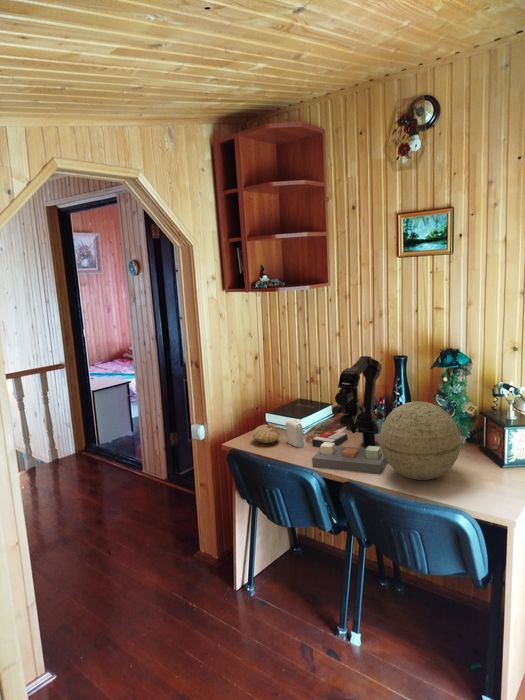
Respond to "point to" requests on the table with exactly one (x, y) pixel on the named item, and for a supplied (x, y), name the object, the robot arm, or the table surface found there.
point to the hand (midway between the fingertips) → (353, 432)
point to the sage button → (373, 452)
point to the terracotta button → (350, 452)
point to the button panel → (349, 461)
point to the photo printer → (294, 433)
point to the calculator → (330, 438)
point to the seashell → (266, 433)
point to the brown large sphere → (420, 440)
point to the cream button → (327, 448)
